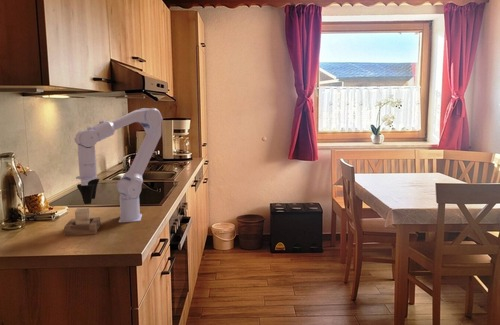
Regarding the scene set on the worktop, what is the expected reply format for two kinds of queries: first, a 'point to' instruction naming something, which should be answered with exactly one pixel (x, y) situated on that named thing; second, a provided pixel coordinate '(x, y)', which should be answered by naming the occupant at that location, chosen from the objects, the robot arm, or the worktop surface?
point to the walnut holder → (82, 227)
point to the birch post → (82, 216)
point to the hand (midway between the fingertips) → (89, 201)
